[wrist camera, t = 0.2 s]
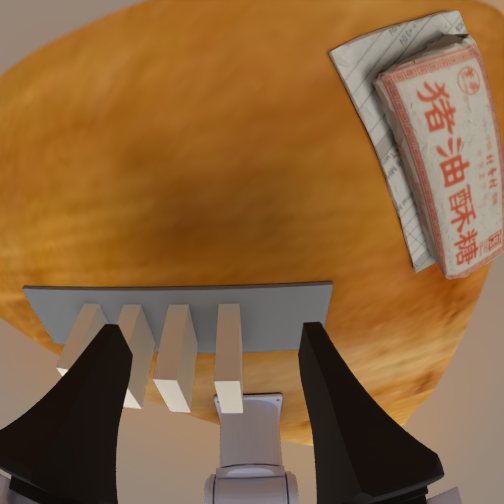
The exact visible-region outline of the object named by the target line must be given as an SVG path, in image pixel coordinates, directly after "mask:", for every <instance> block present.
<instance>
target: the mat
mask: <svg viewBox="0 0 504 504" xmlns="http://www.w3.org/2000/svg"><path fill="white" fill-rule="evenodd" d="M332 288H333V283H332V281H326V282H308V283H287V284H264V285H237V286H201V287H42V286H23V288H22V290H23V292H24V294H25V295H26V297H27V299H28V301H29V303H30V304H31V306H32V308H33V310H34V311H35V313H36V315H37V316H38V318H39V320H40V321H41V323H42V324H43V326H44V328H45V329H46V331H47V332H48V334H49V335H50V337H51V339H52V340H53V342H54V343H55V344H63V345H65V344H66V342H67V339H68V337H69V335H70V333H71V330H72V328H73V326H74V324H75V322H76V319H77V317H78V315H79V313H80V311H81V309H82V307H83V305H84V303H93V304H100V306H101V309H102V311H103V313H104V315H105V317H106V319H107V321H108V323H109V324H117V321H118V318H119V315H120V313H121V310H122V307H123V305H124V304H141V306H142V308H143V311H144V314H145V317H146V319H147V322H148V325H149V327H150V330H151V332H152V335H153V338H154V340H155V348H154V352H158V351H159V347H160V342H161V337H162V333H163V328H164V324H165V319H166V315H167V311H168V306H169V305H186V304H188V305H189V309H190V314H191V318H192V322H193V326H194V331H195V335H196V339H197V343H198V345H197V353H216V337H217V321H218V307H219V304H236V303H239V306H240V320H241V334H242V353H248V352H271V351H288V350H299V347H300V341H301V335H302V328H303V323H305V322H320V323H322V325H323V327H325V322H326V317H327V313H328V308H329V303H330V298H331V293H332Z"/></svg>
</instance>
